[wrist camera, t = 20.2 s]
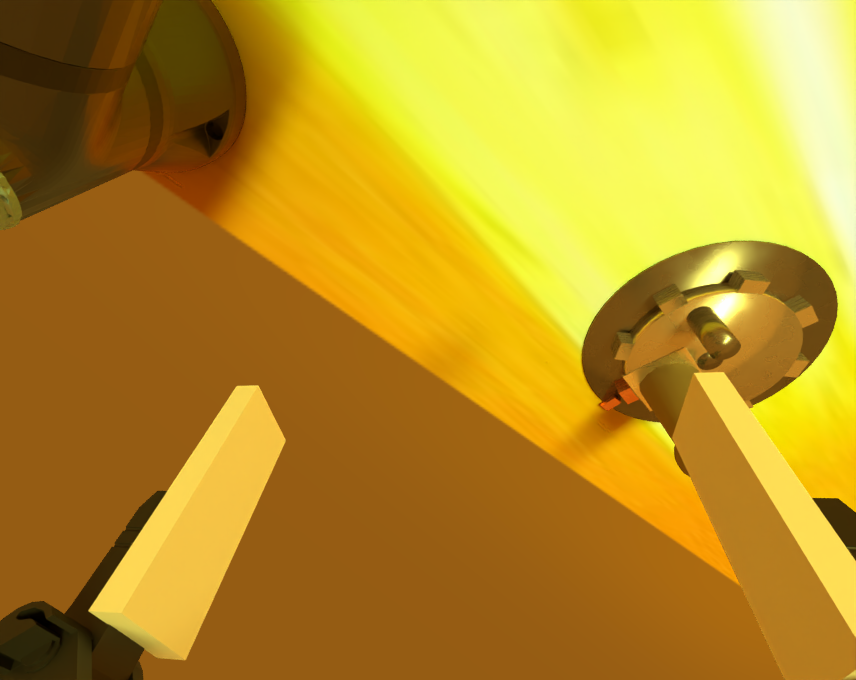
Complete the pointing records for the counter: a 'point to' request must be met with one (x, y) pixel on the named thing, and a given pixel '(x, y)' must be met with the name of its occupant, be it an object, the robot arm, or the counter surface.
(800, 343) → the sprocket
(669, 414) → the pepper mill
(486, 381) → the counter surface
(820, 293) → the plate
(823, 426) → the counter surface
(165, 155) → the robot arm
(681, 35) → the counter surface
